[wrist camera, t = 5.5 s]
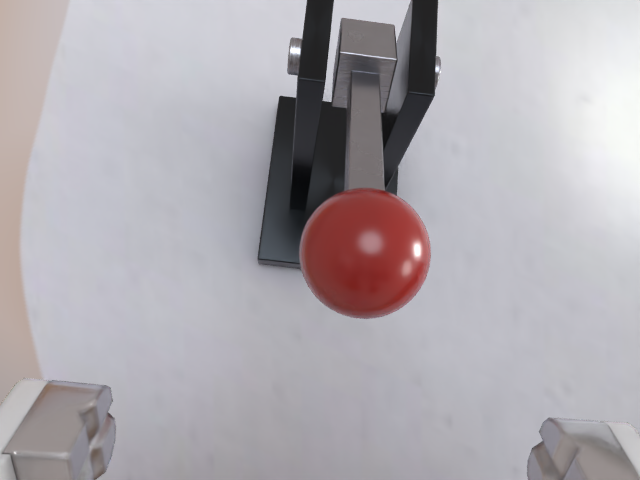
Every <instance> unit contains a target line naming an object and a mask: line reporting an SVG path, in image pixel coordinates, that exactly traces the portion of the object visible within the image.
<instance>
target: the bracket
mask: <svg viewBox="0 0 640 480" xmlns="http://www.w3.org/2000/svg"><path fill="white" fill-rule="evenodd" d="M333 3H334V0H307V5H306V14H305V22H304V30H303V38H302V39H300V38H291V40H290V46H289V55H288V68H287V72H288V74H291V75H298V79H297V95H296V98H293V97H285V96H280V97H279V102H278V109H277V117H276V124H275V132H274V139H273V147H272V154H271V162H270V169H269V177H268V185H267V192H266V200H265V207H264V215H263V222H262V230H261V237H260V245H259V252H258V263H259V264H263V265H272V266H282V267H291V268H300V269H301V265H300V259H299V248H300V241H301V236H302V233H303V230H304V228H305V225H306V223H307V221H308V220H309V218H310V216H311V215H312V214H313V212H314V211H315V210H316V209H317V208H318V207H319V206H320V205H321V204H322V203H323V202H324V201H326V200H327V199H329V198H330V197H332V196H334V195H336V194H338V193H340V192H343V191H344V190H345V158H346V125H347V108H340V107H333V106H332V105H331V104H332V102H325V101H322V100H323V94H324V87H325V80H326V70H327V60H328V51H329V41H330V32H331V22H332V13H333ZM437 13H438V0H411V2H410V5H409V8H408V11H407V14H406V17H405V20H404V23H403V26H402V28H401V31H400V34H399V37H398V40H397V43H396V48H397V59H398V61H397V65H396V69H395V73H394V78H393V82H392V86H391V90H390V94H389V99H388V103H387V107H386V111H385V113H381V120H382V142H383V164H384V187H385V191H387V192H390V193H392V194H394V195H396V196H397V180H398V165H399V163H400V162H401V160H402V158H403V156H404V154H405V152H406V150H407V148H408V146H409V144H410V142H411V140H412V138H413V137H414V135H415V133H416V131H417V129H418V127H419V125H420V123H421V121H422V119H423V117H424V115H425V113H426V112H427V110H428V108H429V106H430V104H431V102H432V100H433V98H434V96H435V89H436V87H437V84H438V80H439V76H440V69H441V60H440V57H438V56H436V43H437Z"/></svg>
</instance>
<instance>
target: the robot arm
mask: <svg viewBox="0 0 640 480" xmlns="http://www.w3.org/2000/svg"><path fill="white" fill-rule="evenodd" d="M112 402H113V399H112V393H111V388H110V387H108V386H106V385H96V384H86V383H76V382H66V381H55V380H52V381H50V380H40V379H28V378H23V379H22V380H20V381H19V382H17V383H16V384H15V385H14V386H13V388H12V389H11V391H10V392H9V393H8V395H7V396H6V397H5V399H4V400H3V402H2V403H1V404H0V480H96V479H97V478H98V477H100V476H101V475H102V474H103V473H105V472H106V469H107V467H108V464H109V462H110V459H111V456H112V452H113V448H114V443H115V434H116V426H115V419H114V418H113V417H112V416H111V415H110V414H109V413H108V410H109V408H110V406H111V404H112ZM539 433H540V435H541V437H542V440H543V441H542V442H541V443H539V444H538V445H536V446H535V447H533V448H532V450H531V453H530V456H529V458H528V464H527V477H528V480H640V435H639V433H638V432H637V430H636V429H635V428H634V427H633V426H632V425H630V424H629V423H625V422H610V421H600V422H599V421H594V420H578V419H562V418H548V419H547V420H545V421H544V422H543V424H542V426H541V429H540V431H539Z"/></svg>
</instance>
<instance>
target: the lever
mask: <svg viewBox="0 0 640 480" xmlns="http://www.w3.org/2000/svg"><path fill="white" fill-rule="evenodd" d="M397 61H398V59H397V48H396V37H395V26H394V25H392V24H384V23H377V22H369V21H362V20H354V19H347V18H342V19H341V22H340V29H339V36H338V43H337V50H336V57H335V64H334V73H333V88H332V104H331V105H332V106H333V107H340V108H347V125H346V158H345V190H344V191H343V192H340V193H338V194H336V195H334V196H332V197H330V198H329V199H327V200H326V201H324V202H323V203H322V204H321V205H320V206H319V207H318V208H317V209H316V210H315V211H314V212H313V214H312V215H311V216H310V218H309V220H308V221H307V223H306V225H305V228H304V230H303V233H302V236H301V241H300V248H299V259H300V265H301V270H302V273H303V276H304V279H305V281H306V283H307V285H308V287H309V288H310V290H311V291H312V292H313V294H314V295H315V296H316V297H317V298H318V299H319V300H320V301H321V302H322V303H323V304H324V305H326V306H327V307H329V308H330V309H332V310H334V311H336V312H337V313H340V314H342V315H345V316H349V317H353V318H364V319H368V318H377V317H382V316H385V315H388V314H391V313H393V312H395V311H397V310H399V309H400V308H402V307H403V306H404V305H406V304H407V303H408V302H409V301H410V300H412V298H413V297H414V296H415V295H416V294H417V292H418V291H419V290H420V288H421V286H422V284H423V283H424V281H425V279H426V276H427V273H428V270H429V265H430V257H431V250H430V241H429V237H428V233H427V231H426V228H425V226H424V224H423V222H422V220H421V218H420V217H419V215H418V214H417V213H416V211H415V210H414V209H413V208H412V207H411V206H410V205H409V204H408V203H406V202H405V201H404V200H403V199H401V198H400V197H398V196H396V195H394V194H392V193H390V192H387V191H385V187H384V164H383V142H382V120H381V113H385V111H386V107H387V103H388V99H389V94H390V90H391V86H392V82H393V78H394V73H395V69H396V65H397Z"/></svg>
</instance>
